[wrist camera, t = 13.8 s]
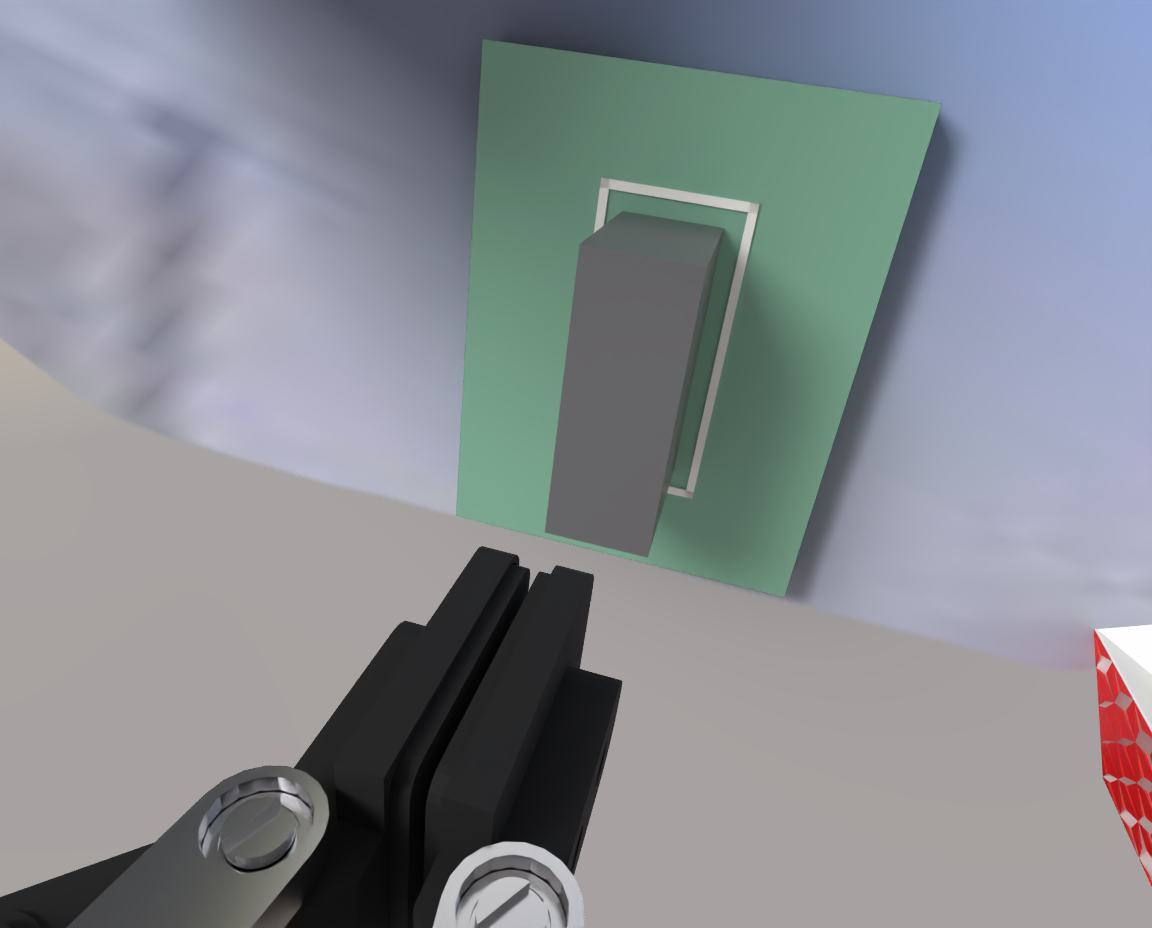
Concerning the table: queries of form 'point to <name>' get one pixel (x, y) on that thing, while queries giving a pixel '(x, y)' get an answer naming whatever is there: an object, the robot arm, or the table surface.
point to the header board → (738, 295)
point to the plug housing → (628, 376)
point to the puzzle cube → (1127, 728)
